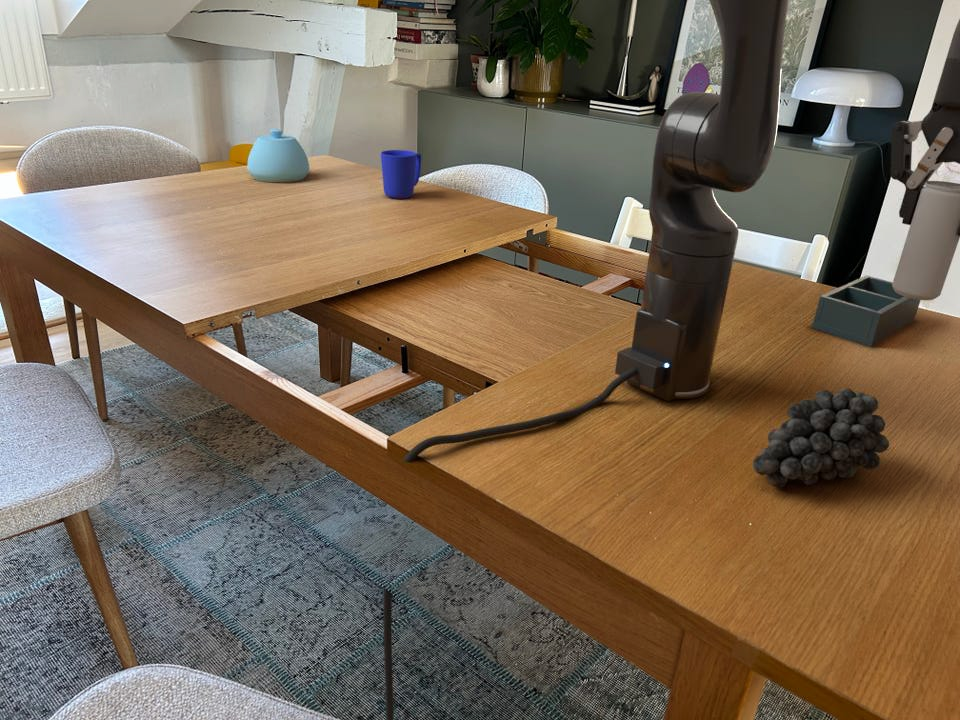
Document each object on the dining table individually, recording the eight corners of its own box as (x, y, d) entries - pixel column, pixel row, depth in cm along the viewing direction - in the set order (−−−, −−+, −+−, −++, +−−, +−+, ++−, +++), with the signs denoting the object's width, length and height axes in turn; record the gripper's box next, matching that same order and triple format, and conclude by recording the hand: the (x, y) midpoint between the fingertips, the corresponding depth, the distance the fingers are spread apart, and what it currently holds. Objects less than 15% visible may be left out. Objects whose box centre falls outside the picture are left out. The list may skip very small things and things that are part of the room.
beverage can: (890, 295, 80) (924, 185, 75) (890, 284, 84) (923, 178, 79) (940, 304, 78) (978, 192, 73) (938, 292, 82) (974, 185, 77)
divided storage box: (913, 321, 113) (923, 290, 111) (871, 347, 103) (881, 313, 101) (857, 304, 119) (865, 275, 117) (811, 327, 108) (819, 296, 106)
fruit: (787, 418, 64) (904, 386, 70) (720, 403, 71) (830, 376, 77) (792, 512, 65) (906, 474, 71) (725, 488, 73) (833, 455, 78)
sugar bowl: (321, 175, 189) (319, 129, 184) (286, 186, 176) (283, 136, 172) (273, 169, 194) (269, 123, 189) (235, 178, 181) (231, 130, 176)
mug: (432, 193, 176) (433, 151, 172) (401, 202, 167) (401, 157, 163) (405, 188, 180) (405, 146, 176) (373, 196, 171) (373, 152, 167)
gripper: (899, 51, 73) (853, 219, 80) (1071, 62, 64) (1001, 251, 71) (926, 52, 78) (880, 211, 85) (1089, 63, 69) (1022, 240, 76)
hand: (935, 228), depth 78 cm, fingers closed on beverage can, 5 cm apart
